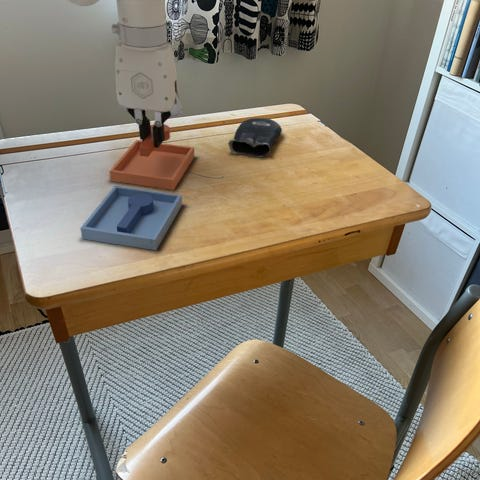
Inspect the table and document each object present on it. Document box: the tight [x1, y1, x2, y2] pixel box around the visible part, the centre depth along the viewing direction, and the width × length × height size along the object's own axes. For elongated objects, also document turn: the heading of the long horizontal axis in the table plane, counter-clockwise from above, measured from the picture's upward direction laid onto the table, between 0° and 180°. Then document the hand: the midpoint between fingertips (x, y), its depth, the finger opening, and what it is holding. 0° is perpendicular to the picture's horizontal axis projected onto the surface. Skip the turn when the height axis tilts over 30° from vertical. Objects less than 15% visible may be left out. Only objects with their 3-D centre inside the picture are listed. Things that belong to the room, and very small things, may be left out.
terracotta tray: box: [108, 139, 195, 191], centre depth 99 cm, size 12×14×2 cm
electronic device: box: [227, 117, 283, 158], centre depth 109 cm, size 9×6×15 cm
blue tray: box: [79, 185, 183, 251], centre depth 85 cm, size 12×14×2 cm
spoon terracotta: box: [139, 123, 171, 157], centre depth 96 cm, size 11×4×2 cm, turn 168°
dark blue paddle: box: [117, 194, 154, 234], centre depth 84 cm, size 11×4×2 cm, turn 168°
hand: (152, 143), depth 96 cm, fingers closed on spoon terracotta, 1 cm apart
